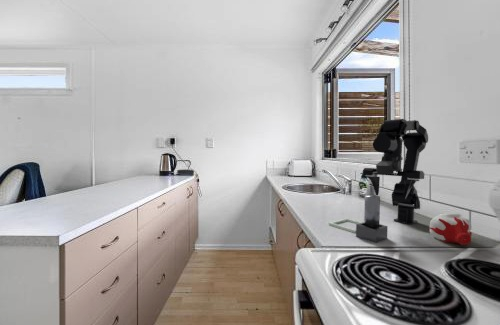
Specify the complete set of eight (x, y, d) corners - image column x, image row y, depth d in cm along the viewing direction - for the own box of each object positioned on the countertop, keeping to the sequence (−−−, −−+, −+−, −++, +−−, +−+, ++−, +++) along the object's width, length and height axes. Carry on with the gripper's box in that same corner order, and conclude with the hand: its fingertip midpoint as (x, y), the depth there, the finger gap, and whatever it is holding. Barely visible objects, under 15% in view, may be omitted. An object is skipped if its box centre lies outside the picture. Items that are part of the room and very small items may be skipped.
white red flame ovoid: (455, 234, 82) (488, 258, 68) (418, 231, 85) (443, 254, 70) (459, 209, 81) (493, 228, 67) (421, 207, 83) (447, 225, 69)
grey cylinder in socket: (367, 232, 83) (368, 193, 82) (387, 238, 77) (388, 196, 76) (356, 236, 79) (356, 195, 78) (375, 242, 73) (376, 198, 73)
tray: (346, 222, 98) (346, 218, 98) (372, 230, 88) (372, 225, 88) (328, 227, 92) (328, 222, 92) (355, 235, 82) (355, 230, 82)
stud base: (367, 235, 83) (367, 223, 83) (388, 241, 77) (388, 229, 77) (355, 239, 79) (355, 227, 79) (376, 246, 73) (376, 233, 73)
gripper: (356, 152, 89) (354, 194, 89) (415, 152, 75) (412, 202, 75) (369, 154, 96) (367, 193, 97) (425, 154, 82) (423, 200, 82)
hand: (390, 196), depth 87 cm, fingers open, 9 cm apart
